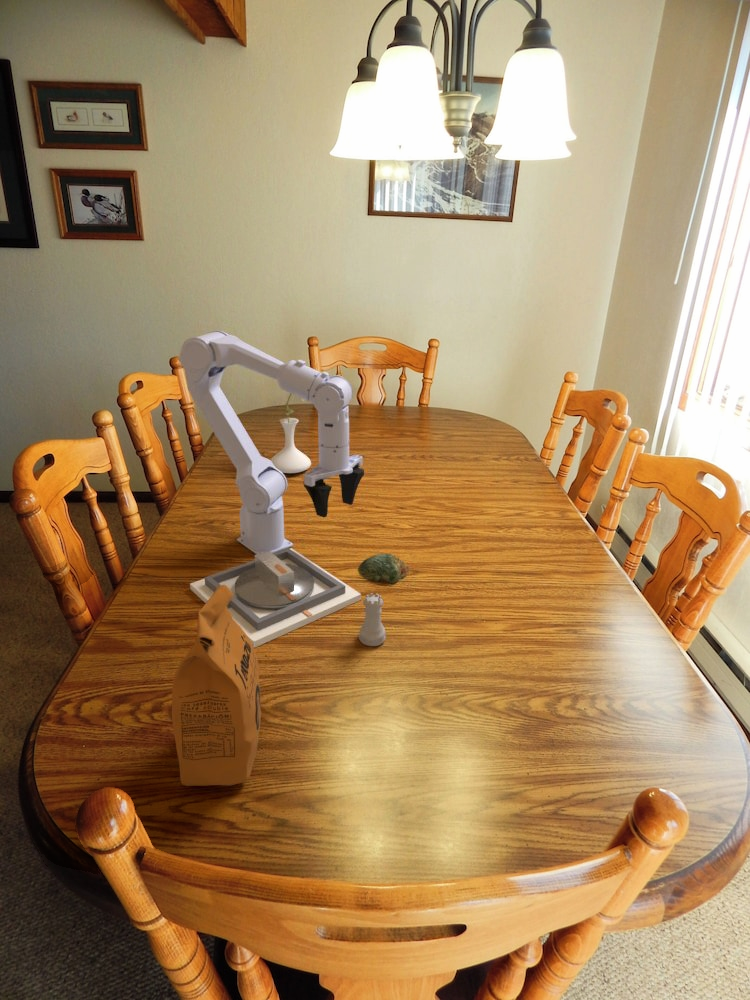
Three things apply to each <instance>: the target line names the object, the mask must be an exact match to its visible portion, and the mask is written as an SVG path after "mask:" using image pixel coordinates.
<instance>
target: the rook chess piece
mask: <svg viewBox="0 0 750 1000" xmlns="http://www.w3.org/2000/svg"><path fill="white" fill-rule="evenodd" d="M362 602H363V603H362V604H363V606H364V607H365V608H364V613H365V617H364V621H363V624H362V625H361V626H360V628H359V632H358V633H359V634H358V639H359V641H360V643H362V644H364V646H368V647H378V646H380V645H382V644H383V643H384V642H385V641H386V638H387V636H386V629H385V627H384V625H383V623H382V617H381V616H382V615H381V614H382V612H383V610H382V607H383V606H384V601H383V599H382V595H379V593H375V594H374V593H373V592H372V593H371V592H370V593H369V594H366V595H365V598H364V600H362Z"/></svg>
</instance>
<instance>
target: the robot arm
mask: <svg viewBox="0 0 750 1000" xmlns="http://www.w3.org/2000/svg"><path fill="white" fill-rule="evenodd" d="M179 352H180V353H179V357H178V361H179V363H180V365H181V367H182V368H183V371H184V374H185V375H184V376H185V379H186V381H185V382H186V385H187V390H188V392H189V394H190V396H191V398H192V399H193V401H194V402H195V404H196V405H197V407H198V408H199V411H200V412H201V414H202V415H203V418H204V419H205V420H206V421H207V423H208V425H209V427H210V429H211V430H212V432H213V434H214V435H215V437H216V438H217V440H218V442H219V443H220V444H221V446H222V448H223V450H224V452H225V453H226V454H227V456H228V458H229V460H230V462H231V463H232V464H233V466H234V467H235V469H236V476H235V486H236V487H237V489H238V490H239V496H240V501H241V503H242V505H241V507H240V509H239V526H240V537H238V538H236V540H237V542H239V543H240V544H242V546H244V547H246V548H247V549H248V550H250V551H251V552H252V553H253V554H254V555H257V554H260V553H263V552H267V551H270V552H272V553H276V552H279V551H282V550H284V549H287V548H289V549H290V548H292V547H293V546H294V543H292V542H291V541H290V540H288V539H286V538H285V523H284V522H285V518H284V501H283V495H284V494H285V493H286V492H287V488H288V480H287V477H286V475H285V473H282V472H281V471H280V470H278V469H277V468H276V467H275V466H274V465H273V463H272V461H271V459H268V458H266V457H264V456H263V455H261V453H260V452H259V450H258V449H257V447H256V445H255V444H254V442H253V440H252V439H251V437H250V435H249V434H248V431H246V429H245V426H243V423H242V422H241V420H240V418H239V417H238V415H237V414H236V412H235V410H234V408H233V407H232V405H231V404H230V402H229V400H228V399H227V397H226V395H225V393H224V392H223V390H222V388H221V386H220V385H221V381H222V377H223V374H224V371H225V370H226V369H227V367H229V366H234V365H238V366H241V367H244V368H246V369H248V370H252V371H253V372H257V374H258V373H259V374H261V375H263V376H265V377H266V376H267V377H269V378H272V379H273V380H274V379H275V380H276V382H277V383H278V386H279V388H280V389H281V390H283V391H285V392H287V393H289V394H290V393H291V395H293V396H296V397H298V398H299V397H300V398H302V399H304V400H305V401H307V402H309V403H312V404H313V406H314V408H315V410H316V411H317V414H318V415H317V416H318V417H317V418H318V419H317V425H318V427H317V430H318V435H317V436H318V464H317V465H316V466H314V467H313V468H312V469H311V470H309V471H308V472H307V473H304V474H303V480H302V481H303V482H302V483H303V487H304V488H305V490H306V492H307V493H308V494H309V496H310V499H311V502H312V504H313V507H314V510H315V513H316V516H319V517H321V518H327V515H328V511H329V510H328V509H329V507H328V505H329V497H330V493H331V490H332V488H333V486H331V485H329V484H326V482H325V480H327V479H329V478H332V477H334V476H335V477H336V476H338V478H339V481H340V489H341V499H342V503H343V504H345V505H346V504H347V505H350V506H351V505H353V504H354V500H355V497H356V492H357V490H358V487H359V484H360V482H361V480H362V479H363V477H364V475H365V470H364V469H363V468H359V467H362V466H363V465H364V464H363V461H364V460H363V456H362V455H358V454H353V455H350V418H349V417H350V416H349V412H350V411H349V410H350V409H349V405H348V404H349V403H350V402H351V400H352V397H353V394H354V393H353V392H354V391H353V387H352V384H351V383H350V382H349V381H348V380H347V379H346V378H344V377H343V376H341V375H337V374H336V375H331V376H330V374H329V373H328V372H327V371H322V372H321V371H319V370H317V369H314V368H312V367H310V366H307V365H306V361H305V360H302V359H298V360H294V359H291V360H289V361H286V362H283V361H281V360H279V359H277V358H275V357H274V356H272V355H270V354H267V353H266V352H263V351H262V350H261V349H258V348H256V347H254V346H252V345H251V344H248V343H247V342H245V341H243V340H241V339H240V338H239V337H237V336H236V335H233V334H228V333H226V332H225V331H223V330H213V331H211V332H208V333H206V334H203V335H202V334H201V335H199V336H193V337H192V336H191V337H189V338H187V339H186V340H185V341H184V342H183V344H182V345H181V349H180V351H179ZM300 398H299V399H300Z"/></svg>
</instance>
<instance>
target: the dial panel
mask: <svg viewBox="0 0 750 1000" xmlns="http://www.w3.org/2000/svg"><path fill="white" fill-rule="evenodd" d="M273 554H274V555H275V556H276V557H277V558H279V559H280V560H281V561H282V562H283V563H284V564H291V565H296V566H299V567H301V568H303V569H305V570H307V571H308V572H309V573H310V574H311V575H312V576H313V579H314V590H313V592H312V594H311V595H310V596H309V597H308V598H306V599H304V600H302V601H299V602H297V603H295V604H292V605H290V606H287V607H285V608H283V609H259V608H254V607H251V606H248V605H246V604H244V603H243V602H241V601H240V600H239V599H238V598H237V596H236V594H235V582H236V580H237V578H238V577H239V576H240V575H241V574H242V573H244V572H245V571H247V570H249V569H251V568H253V567H255V559H254V560H251V561H247V562H245V563H242V564H238V565H236V566H233V567H230V568H228V569H225V570H222V571H219V572H217V573H214V574H210V575H208V576H205V577H204V578H202V579H199V580H197V581H194V582H191V583H189V587H190V588H189V589H190V591H192V592H193V593H194V594H195V595H196V596H197V597H198V598H199V599H200V600H201V601H203V603H205V604H206V602H207V601H208V600H209V599H210V597H211V596H212V595H213V594H214V592H215V591H216V589H217V588H218V586H219V585H226V586H227V587H228V588H229V590H230V591H231V592H232V593H233V597H232V599H231V601H230V602H229V603H228V604H227V608H228V610H229V612H230V614H231V616H232V619H233V620H234V621H235V622H236V623H237V624H238V625H239V626H240V627H241V628H242V629H243V631H244V632H245V633H246V635H247V636H248V638H249V639H250V641H251V642H252V644H253V647H254V649H255V648H257V647H259V646H262V645H264V644H266V643H268V642H271V641H273V640H274V639H277V638H279V637H282V636H283V635H286V634H288V633H290V632H293V631H295V630H297V629H300V628H301V627H303V626H306V625H308V624H311V623H313V622H315V621H317V620H319V619H321V618H324V617H326V616H328V615H331V614H333V613H335V612H337V611H340V610H341V609H344V608H346V607H348V606H350V605H352V604H355V603H357V602H359V601H361V600H362V594H361V592H359V591H357V590H356V589H354V588H353V587H351V586H350V585H348V584H346V583H345V582H344V581H342V580H341V579H339V578H337V577H336V576H335V575H333V574H331V573H330V572H329V571H326V570H325V569H324V568H322V567H321V566H319V565H318V564H316V563H314V562H313V561H311V560H310V559H308V558H307V557H306V556H304V555H303V554H301V553H300V552H298V551H296V550H295V549H294V548H292V547H289V548H286V549H283V550H280V551H278V552H275V553H273Z"/></svg>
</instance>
